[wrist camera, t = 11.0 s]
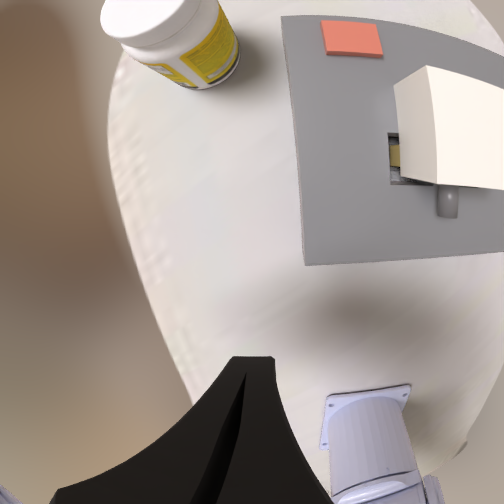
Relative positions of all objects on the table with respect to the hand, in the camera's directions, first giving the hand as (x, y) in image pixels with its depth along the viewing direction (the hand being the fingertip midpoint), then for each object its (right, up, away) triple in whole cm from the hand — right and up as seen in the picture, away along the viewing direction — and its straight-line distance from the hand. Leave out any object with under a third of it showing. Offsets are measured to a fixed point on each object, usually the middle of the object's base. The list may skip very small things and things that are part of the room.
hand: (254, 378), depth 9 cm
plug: (+10, +11, +5) cm, 16 cm away
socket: (+10, +11, +5) cm, 16 cm away
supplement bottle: (-3, +16, +6) cm, 18 cm away
